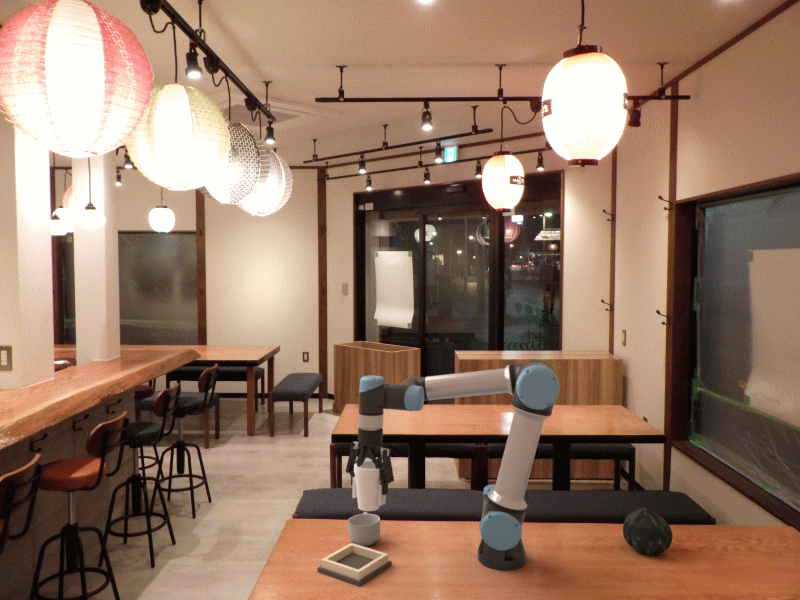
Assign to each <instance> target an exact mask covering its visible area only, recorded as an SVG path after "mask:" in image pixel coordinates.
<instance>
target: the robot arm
mask: <svg viewBox="0 0 800 600" xmlns="http://www.w3.org/2000/svg"><path fill="white" fill-rule="evenodd" d="M358 389H359V390H358V420H357V422H358V424H357V425H358V429H357V440H358V441H357V440H355V441H352V442H350V443H349V447H350V448H349V449H350V450H349V455H348V458H347V463H346V467H345V472H346V474H349V475H350V486H351V489H352V490H351V492H352V493H351V498H352V499H356V498H357V491H356V481H355V473H354V464H355V463H357V466H358V467H359V466H361V465H362V464H363V462H364V461H366V459H368V460H371V461H372V462H373V463H374V464H375V467H376V469H379V478H380V481H381V483H380V484H379V495H378V506H379V507H382V506H384V505H386V501H387V500H386V499H387V495H388V493H389V484H390V483H392V482H394V481H395V478H394V477H395V476H394V471H393V466H392V459H391V453H392V452H391V448H389V447H388V448H385V447H383V443H382V442H383V440H384V429H383V427H384V410H395V411H406V412H408V411H409V412H421V411H422V410H423V407H424V403H425V402H426V401H434V400H444V399H446V400H447V399H456V398H466V397H475V396H476V397H477V396H487V395H497V394H506V393H507V394H510V395H511V396H512V399H511V403H510V405H511V407H512V409H513V411H514V413H513V416H512V421H511V423H510V427H509V432H508V436H507V440H506V443H505V448H504V451H503V454H502V459H501V464H500V466H499V470H498V475H497V478H496V483H494V484H488V485H486V486H485V487H483V493H482V496H483V498H482V500H483V503H482V505H483V506H482V512H481V513H482V514H481V519H480V522H479V532H480V536H481V539H480V542H479V545H478V549H477V560H478V562H479V563H480V564H482V565H483V566H485V567H488V568H491V569H495V570H502V571H509V570H510V571H511V570H515V569H520V568H522V567H523V566H525V565H526V563H527V551H526V548H525V545H524V542H523V538H522V534H523V529H522V527H523V523H524V519H525V516H526V512H527V508H528V504H527V503H526V501H525V499H524V498H525V495H526V494H525V493H526V490H527V487H528V483H529V478H530V475H531V471H532V467H533V463H534V459H535V456H536V452H537V448H538V445H539V441H540V437H541V433H542V430H543V426H544V421H545V420H546V419H549V418H551V417H552V414H553V409H554V406H555V402H556V401H557V399H558V398H559V395H560V390H561V384H560V380H559V378H558V375H557V374H556V371H555V370H554V368H553V367H552V365H550V364H549V363H547V362H545V361H543V360H538V359H537V360H536V359H533V360H527V361H524V362H518V363H517V362H516V363H510V364H507V365H506V366H505V367H503V368H494V369H485V370H478V371H477V370H476V371H475V370H474V371H467V372H458V373H456V372H455V373H448V374H439V375H428V376H421V377H418V376H410V377H407V378H405V379H404V380H403V381H402V382H401V383H400V384H394V383H393V384H392V383H386V381H385V377H384V376H380V375H364V376H361V378H360V379H359V388H358ZM358 452H359V453H358ZM383 467H384V468H383Z"/></svg>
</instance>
